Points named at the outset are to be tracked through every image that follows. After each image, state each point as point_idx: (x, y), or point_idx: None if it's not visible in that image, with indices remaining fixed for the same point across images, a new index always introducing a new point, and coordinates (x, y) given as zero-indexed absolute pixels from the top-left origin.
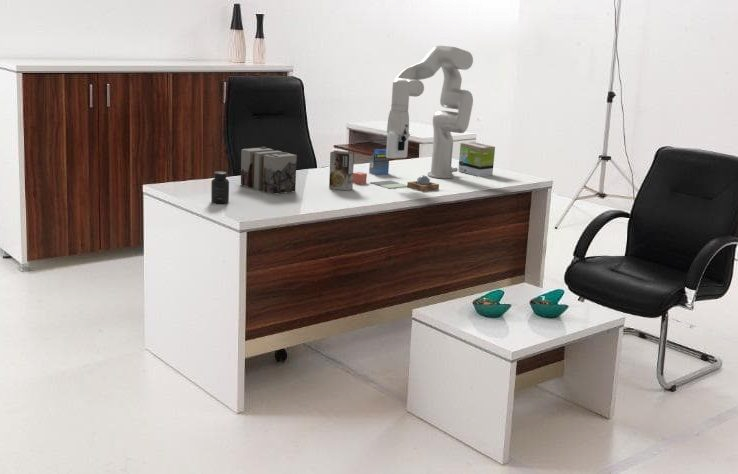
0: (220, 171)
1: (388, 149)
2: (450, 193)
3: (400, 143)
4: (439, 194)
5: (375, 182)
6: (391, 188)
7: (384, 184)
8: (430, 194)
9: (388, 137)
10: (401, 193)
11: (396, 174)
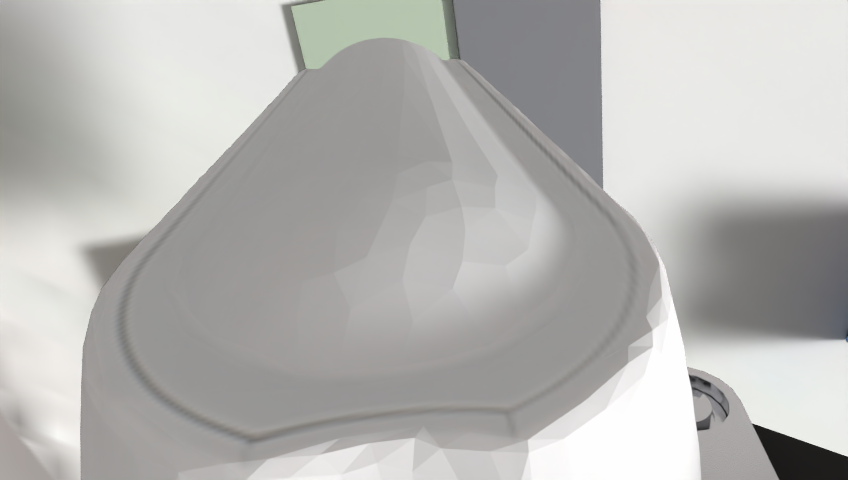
0: None
1: (344, 63)
2: (60, 410)
3: None
4: (16, 322)
5: (573, 12)
6: (299, 38)
7: (459, 53)
8: (13, 255)
9: (380, 152)
10: (51, 7)
11: (791, 379)
